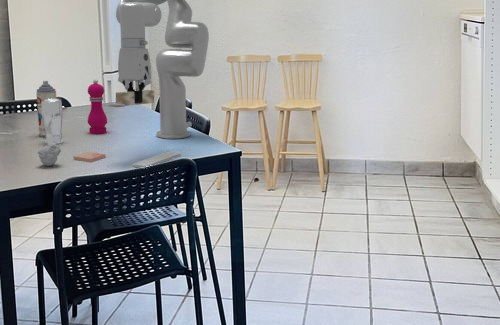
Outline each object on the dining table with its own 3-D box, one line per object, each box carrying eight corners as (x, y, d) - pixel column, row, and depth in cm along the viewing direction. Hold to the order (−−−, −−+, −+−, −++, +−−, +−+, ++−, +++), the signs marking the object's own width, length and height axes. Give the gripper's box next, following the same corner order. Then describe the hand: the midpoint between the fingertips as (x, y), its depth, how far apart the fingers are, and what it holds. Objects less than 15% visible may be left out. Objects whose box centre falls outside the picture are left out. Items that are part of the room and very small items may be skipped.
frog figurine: (61, 167, 198) (60, 144, 196) (37, 168, 196) (35, 145, 195) (62, 162, 204) (61, 140, 202) (39, 163, 202) (37, 141, 200)
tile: (88, 151, 213) (73, 156, 207) (105, 154, 210) (90, 158, 204) (88, 156, 214) (73, 160, 208) (105, 158, 211) (91, 163, 204)
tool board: (167, 153, 216) (167, 151, 216) (180, 155, 214) (180, 153, 213) (132, 166, 199) (132, 164, 199) (145, 168, 197) (145, 166, 197)
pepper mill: (105, 134, 245) (102, 80, 240) (86, 134, 245) (83, 80, 240) (109, 130, 252) (107, 78, 247) (90, 130, 252) (88, 78, 247)
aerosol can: (38, 134, 244) (34, 80, 239) (57, 133, 247) (54, 79, 242) (40, 137, 238) (36, 82, 233) (59, 136, 241) (56, 81, 236)
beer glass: (58, 139, 236) (55, 97, 232) (68, 142, 231) (65, 100, 228) (40, 142, 231) (37, 99, 228) (50, 145, 226) (47, 102, 223)
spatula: (144, 101, 218) (145, 89, 217) (157, 103, 215) (157, 91, 215) (103, 105, 200) (103, 92, 200) (116, 107, 198) (116, 94, 197)
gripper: (161, 44, 204) (162, 103, 209) (121, 42, 212) (123, 99, 216) (146, 45, 198) (147, 106, 202) (105, 43, 206) (107, 102, 210)
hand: (135, 102), depth 209 cm, fingers closed on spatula, 2 cm apart
